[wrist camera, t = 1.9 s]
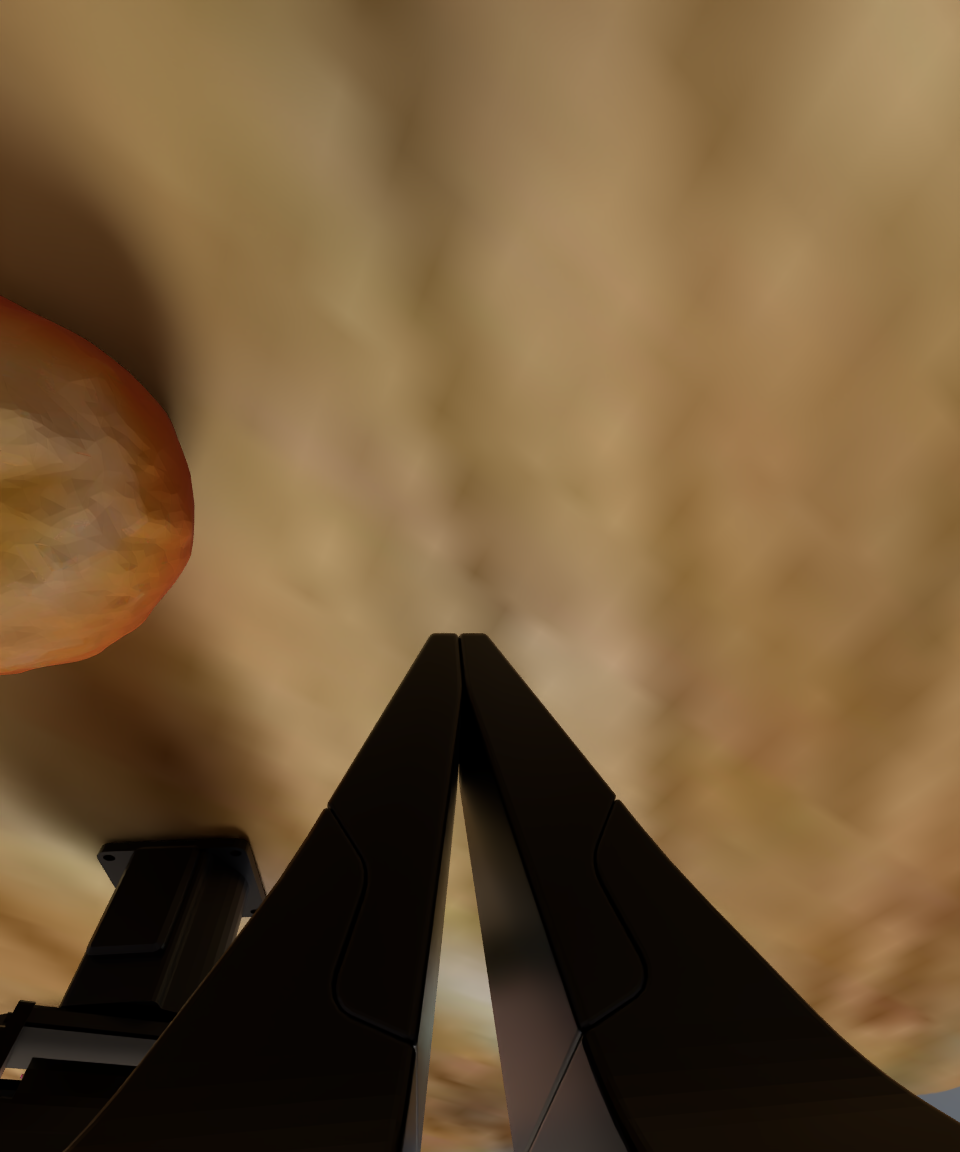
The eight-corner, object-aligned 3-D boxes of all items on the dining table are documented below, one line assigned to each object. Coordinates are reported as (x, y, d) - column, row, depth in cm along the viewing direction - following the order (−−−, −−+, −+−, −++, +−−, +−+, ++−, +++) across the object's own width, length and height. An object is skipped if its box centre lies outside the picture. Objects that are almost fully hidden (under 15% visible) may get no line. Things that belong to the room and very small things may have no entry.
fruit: (-179, 550, 14) (-690, 588, 6) (-14, 303, 15) (-305, 83, 7) (139, 671, 17) (36, 792, 10) (263, 462, 18) (257, 422, 10)
